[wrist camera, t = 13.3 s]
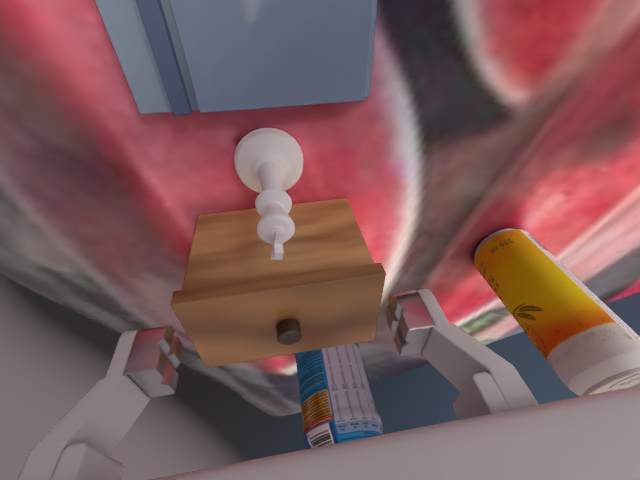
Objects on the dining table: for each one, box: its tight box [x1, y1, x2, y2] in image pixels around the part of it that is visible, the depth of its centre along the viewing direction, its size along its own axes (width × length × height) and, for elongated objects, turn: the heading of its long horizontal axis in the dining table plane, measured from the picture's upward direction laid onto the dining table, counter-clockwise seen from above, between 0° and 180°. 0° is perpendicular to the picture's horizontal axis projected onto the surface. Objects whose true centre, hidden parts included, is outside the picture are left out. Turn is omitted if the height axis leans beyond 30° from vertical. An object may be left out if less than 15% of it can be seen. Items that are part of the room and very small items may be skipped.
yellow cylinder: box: [474, 229, 640, 397], centre depth 27 cm, size 6×6×15 cm
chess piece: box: [234, 128, 303, 260], centre depth 18 cm, size 5×5×10 cm
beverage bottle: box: [295, 343, 383, 449], centre depth 33 cm, size 8×8×20 cm
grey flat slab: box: [95, 0, 377, 116], centre depth 16 cm, size 8×14×1 cm, turn 91°
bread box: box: [171, 198, 386, 368], centre depth 23 cm, size 8×13×10 cm, turn 91°
